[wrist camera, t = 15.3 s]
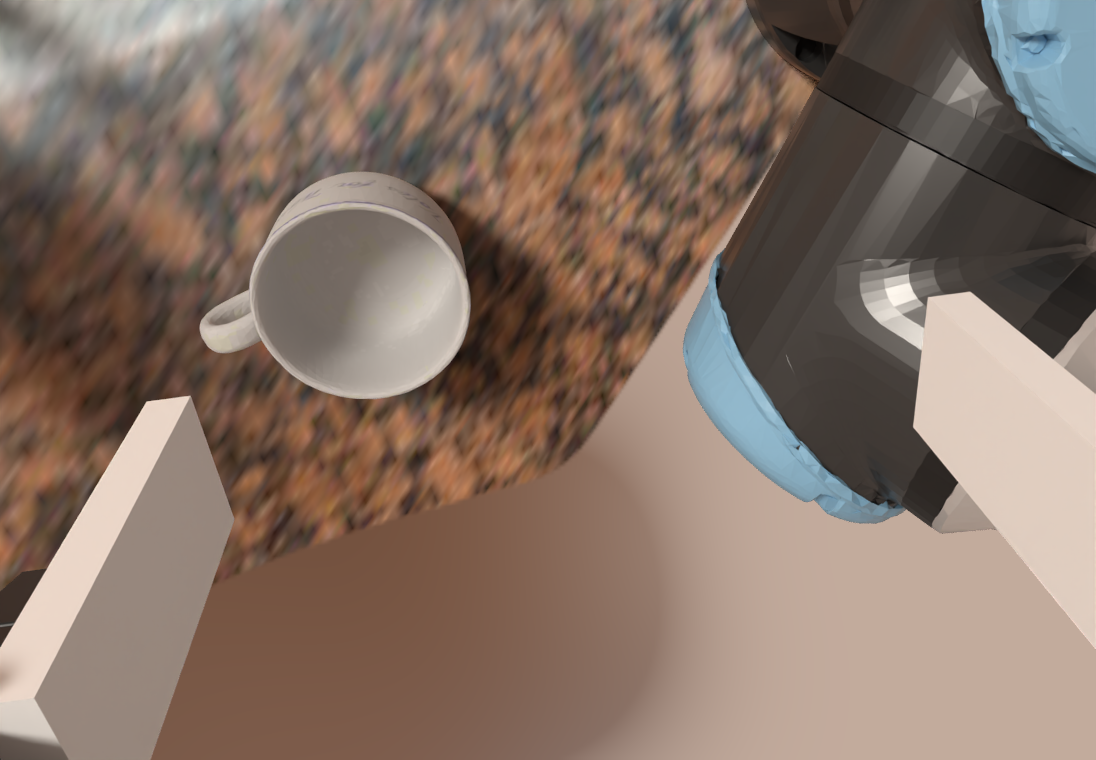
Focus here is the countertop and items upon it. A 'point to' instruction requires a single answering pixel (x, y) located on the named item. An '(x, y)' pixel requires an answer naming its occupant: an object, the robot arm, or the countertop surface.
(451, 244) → the teacup
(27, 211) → the countertop surface
